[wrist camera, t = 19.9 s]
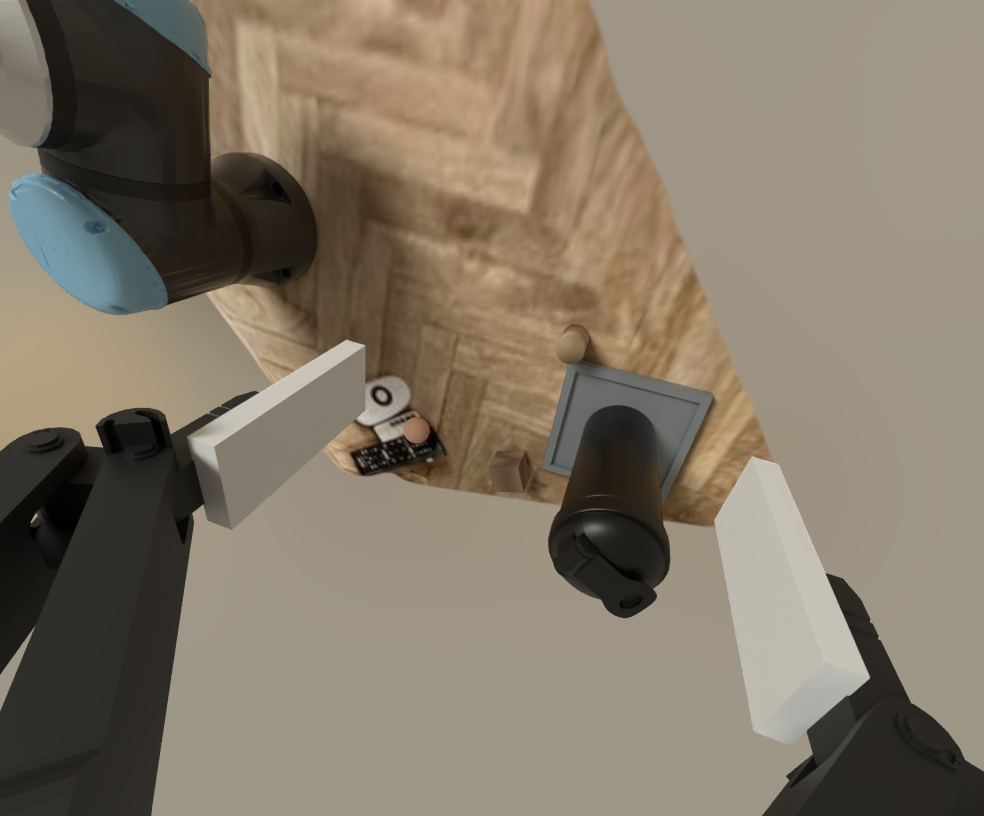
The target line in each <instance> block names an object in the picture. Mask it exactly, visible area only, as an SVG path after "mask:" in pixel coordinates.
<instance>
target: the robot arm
mask: <svg viewBox="0 0 984 816" xmlns="http://www.w3.org/2000/svg"><path fill="white" fill-rule="evenodd" d="M209 78H212V71H211V68H210V66H209V59H208V43H207V30H206V26H205V22H204V20H203V18H202V16H201V14H200V13H199V11H198V9H197V8H196V7H195V6H194V5H193V4H192V3H191V2H190V1H189V0H0V134H1V135H3V136H4V137H5V138H7V139H8V140H10V141H11V142H13V143H15V144H17V145H19V146H24V147H32V148H37V149H38V154H39V158H40V164H41V170H42V174H39V173H31V174H29V173H28V174H27V175H25V176H24V177H21V178H19V179H17V180H15V181H14V183H13V184H12V189H10V191H9V195H8V203H9V209H10V213H11V216H12V219H13V222H14V224H15V227H16V229H17V231H18V233H19V235H20V237H21V238H22V240H23V242H24V244H25V245H26V247H27V248H28V250H29V251H30V253H31V254H32V256H33V257H34V259H35V260H36V261H37V262H38V264H39V265H40V266H41V267H42V268H43V270H44V271H45V272H47V273H48V275H49V276H50V277H51V278H52V279H53V280H54V281H55V282H56V283H57V284H58V285H59V286H60V287H61V288H63V289H64V290H65V291H66V292H67V293H69V294H70V295H71V296H73V297H74V298H75V299H77V300H78V301H80V302H82V303H83V304H85V305H87V306H89V307H91V308H93V309H96V310H98V311H101V312H104V313H108V314H113V315H128V314H133V313H137V312H142V311H147V310H151V309H152V310H156V309H161V308H163V307H165V306H166V305H169V304H171V303H175V302H178V301H181V300H184V299H187V298H190V297H194V296H197V295H200V294H203V293H206V292H210V291H213V290H216V289H219V288H223V287H225V286H229V285H232V284H243V285H254V286H264V287H274V286H280V285H283V284H286V283H289V282H292V281H295V280H297V279H298V278H300V277H301V276H302V275H303V274H304V273H305V272H306V271H307V270H308V268H309V267H310V265H311V263H312V261H313V258H314V255H315V250H316V227H315V222H314V218H313V214H312V211H311V208H310V206H309V203H308V201H307V199H306V197H305V195H304V193H303V191H302V190H301V188H300V187H299V185H298V184H297V182H296V181H295V180H294V179H293V177H292V176H291V175H290V174H289V173H288V172H287V171H286V170H285V169H284V168H283V167H281V166H280V165H279V164H277V163H276V162H274V161H273V160H271V159H269V158H267V157H265V156H262V155H260V154H255V153H227V154H223V155H220V156H218V157H216V158H214V159H212V160H211V154H210V110H209ZM365 351H366V345H362V344H359V343H355V342H352V341H348V340H345V341H344V342H342V343H340V344H339V345H337V346H335V347H334V348H332V349H331V350H329V351H327V352H326V353H324V354H322V355H321V356H319V357H317V358H316V359H314V360H312V361H311V362H309V363H307V364H306V365H304V366H303V367H301V368H299V369H298V370H296V371H294V372H293V373H291V374H289V375H288V376H286V377H284V378H283V379H281V380H279V381H278V382H276V383H275V384H273V385H271V386H270V387H268V388H266V389H265V390H263V391H261V392H257V391H253V392H249V393H246V394H243V395H239V396H236V397H234V398H233V399H231V400H229V401H228V402H226V403H224V404H222V406H221V407H217V408H215V409H214V410H212V411H210V413H209V414H205V415H203V416H202V417H200V418H198V419H197V420H195V421H193V422H191V423H190V424H188V425H186V426H185V427H183V428H181V429H179V430H178V431H176V432H174V433H173V434H171V435H170V431H169V428H168V424H167V420H166V417H165V415H164V414H163V413H162V412H161V411H159V410H155V409H151V408H133V409H127V410H122V411H119V412H116V413H113V414H111V415H109V416H107V417H105V418H103V419H102V420H101V421H100V422H99V423H98V424H97V425H96V426H95V427H96V429H97V432H98V435H99V437H100V440H101V442H102V445H103V448H101V447H100V448H99V447H89V446H85V445H84V443H83V440H82V438H81V435H80V433H79V432H78V431H76V430H74V429H70V428H63V427H60V428H46V429H42V430H36V431H33V432H31V433H28V434H26V435H23V436H21V437H19V438H17V439H16V440H14V441H13V442H11V443H10V444H8V445H7V446H6V447H5V448H4V449H3V450H1V451H0V674H1V673H2V671H3V670H4V668H5V667H6V666H7V664H8V663H9V661H10V660H11V659H12V657H13V656H14V655H15V653H16V652H17V650H18V649H19V648H20V646H21V645H22V643H23V642H24V641H25V639H26V638H27V636H28V635H29V633H30V632H31V631H32V629H33V628H34V627H35V628H34V631H33V633H32V636H31V638H30V641H29V643H28V645H27V648H26V650H25V653H24V655H23V658H22V660H21V662H20V665H19V667H18V670H17V672H16V674H15V677H14V679H13V682H12V684H11V687H10V689H9V691H8V694H7V696H6V699H5V701H4V704H3V706H2V709H1V711H0V816H151V812H152V804H153V797H154V791H155V784H156V777H157V770H158V763H159V756H160V749H161V743H162V736H163V729H164V722H165V716H166V709H167V702H168V695H169V689H170V682H171V675H172V669H173V668H172V667H173V662H174V655H175V648H176V641H177V635H178V628H179V621H180V614H181V607H182V601H183V593H184V587H185V579H186V573H187V567H188V560H189V553H190V546H191V539H192V532H193V526H194V520H193V515H192V513H193V512H194V511H195V510H197V509H198V508H199V507H200V506H202V505H203V504H204V508H205V512H206V516H207V520H208V521H210V522H213V523H216V524H218V525H221V526H223V527H226V528H229V529H231V530H232V529H233V528H235V527H236V526H237V525H238V524H239V523H240V522H241V521H242V520H243V519H245V518H246V517H247V516H248V515H249V514H250V513H251V512H252V511H253V510H255V509H256V508H257V507H258V506H259V505H260V504H261V503H262V502H263V501H265V500H266V499H267V498H268V497H269V496H270V495H271V494H272V493H273V492H275V491H276V490H277V489H278V488H279V487H280V486H281V485H282V484H283V483H284V482H286V481H287V480H288V479H289V478H290V477H291V476H292V475H293V474H295V473H296V472H297V471H298V470H299V469H300V468H301V467H302V466H304V465H305V464H306V463H307V462H308V461H309V460H310V459H311V458H312V457H314V456H315V455H316V454H317V453H318V452H319V451H320V450H321V449H323V448H324V447H325V446H326V445H327V444H328V443H329V442H330V441H331V440H333V439H334V438H335V437H336V436H337V435H338V434H339V433H340V432H341V431H343V430H344V429H345V428H346V427H347V426H348V425H349V424H350V423H352V422H353V421H354V420H355V419H356V418H357V417H358V416H359V415H360V414H362V413H363V412H364V411H365ZM35 513H37V515H38V517H37V518H36V519H35V520H34V521H33V522H32V523H31V520H32V518H33V517H34V515H35ZM714 522H715V527H716V533H717V538H718V544H719V549H720V554H721V560H722V565H723V570H724V576H725V581H726V586H727V592H728V597H729V602H730V608H731V613H732V619H733V624H734V629H735V634H736V640H737V645H738V651H739V656H740V661H741V667H742V672H743V678H744V683H745V688H746V693H747V698H748V704H749V709H750V715H751V721H752V725H753V731H754V732H756V733H758V734H761V735H763V736H766V737H769V738H771V739H774V740H777V741H779V742H782V743H784V744H787V745H790V746H793V745H794V744H795V743H796V742H797V741H798V740H799V739H801V738H802V737H803V736H804V735H805V734H806V733H807V734H808V738H809V741H810V745H811V749H812V752H813V755H812V756H810V757H809V758H808V759H807V760H805V761H804V762H803V763H802V764H800V765H799V766H798V767H797V768H795V769H794V770H793V771H792V772H791V773H789V774H788V775H787V776H786V777H787V778H788V779H789V780H790V781H789V782H788V783H787V784H786V786H785V787H784V788H783V790H782V791H781V792H780V793H779V795H778V796H777V797H776V799H775V800H774V801H773V802H772V804H771V805H770V806H769V808H768V809H767V810H766V811H765V813H764V814H763V815H762V816H984V772H983V771H982V770H980V769H979V768H977V767H975V766H974V765H972V764H970V763H969V762H967V761H966V760H965V759H964V757H963V755H962V752H961V750H960V748H959V747H958V745H957V744H956V743H955V741H954V740H953V739H952V737H951V736H950V735H949V733H948V732H947V731H946V730H945V729H944V728H943V727H942V726H941V725H940V724H939V723H938V722H937V721H936V720H935V719H934V718H932V716H930V715H929V714H927V713H926V712H924V711H923V710H921V709H920V708H919V707H917V706H916V705H914V704H912V703H911V702H910V700H909V698H908V696H907V694H906V692H905V690H904V687H903V685H902V683H901V681H900V680H899V677H898V675H897V673H896V671H895V669H894V667H893V665H892V663H891V661H890V659H889V657H888V655H887V652H886V650H885V648H884V646H883V644H882V642H881V641H880V640H878V637H879V636H878V634H877V632H876V630H875V628H874V626H873V624H872V623H870V617H869V615H868V613H867V611H866V609H865V607H864V605H863V603H862V601H861V599H860V598H859V597H858V595H857V594H856V593H855V592H854V591H853V590H852V589H851V588H850V586H849V585H848V584H847V583H846V582H845V581H844V579H842V578H839V577H836V576H833V575H830V574H826V573H825V572H824V569H823V567H822V565H821V562H820V560H819V558H818V555H817V553H816V551H815V548H814V546H813V544H812V541H811V539H810V537H809V534H808V532H807V530H806V527H805V525H804V523H803V520H802V518H801V516H800V513H799V511H798V509H797V507H796V504H795V502H794V500H793V497H792V495H791V493H790V490H789V488H788V485H787V483H786V481H785V479H784V476H783V474H782V472H781V469H780V467H779V465H778V464H776V463H773V462H769V461H766V460H763V459H759V458H756V457H751V459H750V460H749V462H748V464H747V465H746V467H745V469H744V471H743V472H742V474H741V476H740V477H739V479H738V481H737V482H736V484H735V486H734V488H733V489H732V491H731V493H730V494H729V496H728V498H727V499H726V501H725V503H724V504H723V506H722V508H721V510H720V511H719V513H718V515H717V516H716V518H715V520H714ZM35 625H36V626H35Z"/></svg>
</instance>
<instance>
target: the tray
mask: <svg viewBox="0 0 984 816" xmlns="http://www.w3.org/2000/svg"><path fill="white" fill-rule="evenodd" d="M712 399H713V396H712V393H710V392H706V391H702V390H698V389H694V388H690V387H686V386H682V385H678V384H675V383H671V382H667V381H663V380H659V379H655V378H651V377H647V376H643V375H639V374H635V373H631V372H627V371H623V370H619V369H615V368H611V367H607V366H604V365H600V364H596V363H592V362H588V361H584V360H580V361H579V362H578V363H575V364H568V367H567V371H566V375H565V379H564V383H563V387H562V391H561V395H560V399H559V403H558V406H557V410H556V414H555V418H554V422H553V426H552V430H551V434H550V438H549V442H548V445H547V449H546V453H545V457H544V461H543V465H542V469H544V470H547V471H551V472H554V473H557V474H561V475H564V476H567V477H570V475H571V471H572V468H573V465H574V461H575V458H576V454H577V451H578V447H579V444H580V440H581V437H582V434H583V430H584V427H585V424H586V422H587V420H588V419H589V417H590V416H591V415H592V414H593V413H595V412H596V411H598V410H599V409H601V408H604V407H607V406H613V405H622V406H628V407H631V408H634V409H636V410H638V411H640V412H642V413H643V414H644V415H645V416H646V417H647V418H648V419H649V420H650V421H651V423H652V425H653V427H654V430H655V439H656V449H657V460H658V471H659V477H660V481H659V482H660V487H661V489H660V490H661V492H660V493H661V498H662V500H661V501H662V505H664V503H665V500H666V498H667V496H668V494H669V492H670V490H671V488H672V485H673V483H674V481H675V479H676V477H677V475H678V472H679V470H680V468H681V466H682V464H683V462H684V460H685V457H686V455H687V453H688V451H689V449H690V447H691V444H692V442H693V440H694V438H695V436H696V434H697V432H698V429H699V427H700V425H701V423H702V421H703V419H704V417H705V414H706V412H707V410H708V408H709V406H710V404H711V401H712Z"/></svg>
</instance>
